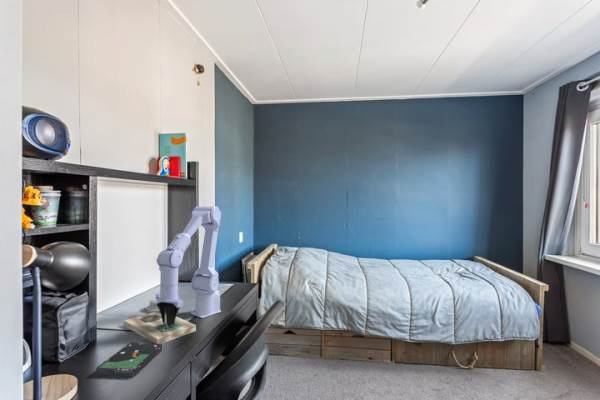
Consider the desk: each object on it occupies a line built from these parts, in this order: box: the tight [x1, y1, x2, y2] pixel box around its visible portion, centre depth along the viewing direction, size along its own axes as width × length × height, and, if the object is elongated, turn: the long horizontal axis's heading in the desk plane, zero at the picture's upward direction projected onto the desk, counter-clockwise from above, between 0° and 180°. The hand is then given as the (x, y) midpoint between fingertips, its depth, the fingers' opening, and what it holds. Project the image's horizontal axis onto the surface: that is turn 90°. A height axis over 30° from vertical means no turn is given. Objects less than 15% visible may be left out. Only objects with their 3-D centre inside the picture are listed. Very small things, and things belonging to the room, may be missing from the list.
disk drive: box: [95, 341, 163, 379], centre depth 86 cm, size 10×3×15 cm
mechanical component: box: [145, 297, 160, 314], centre depth 129 cm, size 10×4×10 cm
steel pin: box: [164, 310, 172, 330], centre depth 106 cm, size 3×3×8 cm
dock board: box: [123, 311, 197, 345], centre depth 109 cm, size 14×24×2 cm, turn 53°
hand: (168, 323), depth 106 cm, fingers closed on steel pin, 2 cm apart
